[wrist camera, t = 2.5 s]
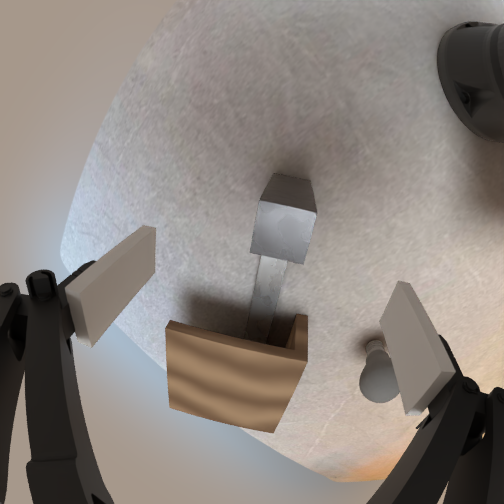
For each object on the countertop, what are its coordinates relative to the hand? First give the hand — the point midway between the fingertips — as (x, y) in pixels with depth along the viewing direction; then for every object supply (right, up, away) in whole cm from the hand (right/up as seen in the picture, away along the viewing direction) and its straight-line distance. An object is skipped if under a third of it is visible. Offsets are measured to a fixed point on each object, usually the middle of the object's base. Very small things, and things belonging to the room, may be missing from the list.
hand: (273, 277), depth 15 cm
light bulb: (+16, -12, +23) cm, 31 cm away
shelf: (-3, -13, +27) cm, 30 cm away
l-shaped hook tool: (+1, 0, +20) cm, 20 cm away
